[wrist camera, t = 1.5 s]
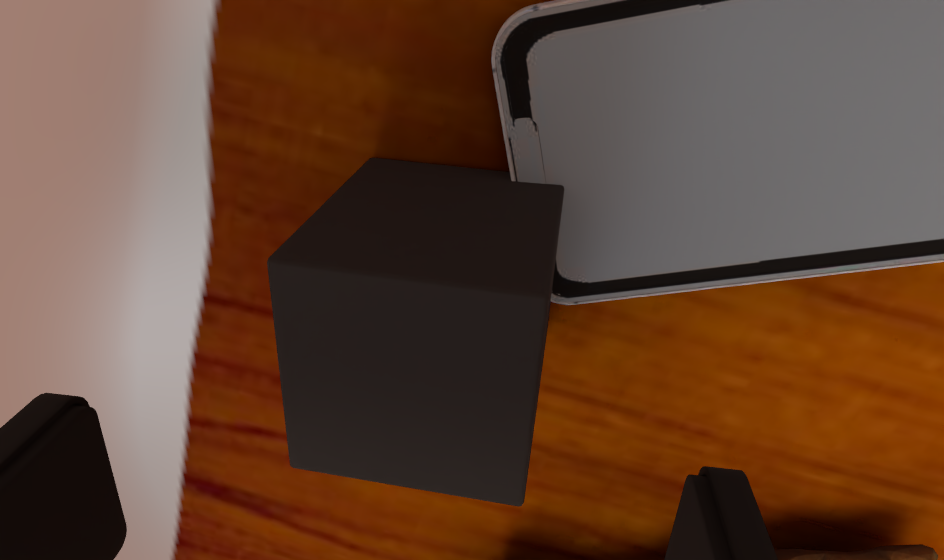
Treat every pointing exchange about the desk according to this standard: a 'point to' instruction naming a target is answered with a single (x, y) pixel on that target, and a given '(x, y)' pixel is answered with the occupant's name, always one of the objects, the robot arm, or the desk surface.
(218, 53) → the desk surface
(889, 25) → the smartphone
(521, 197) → the dark grey cube
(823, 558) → the sculpture
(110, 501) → the robot arm
